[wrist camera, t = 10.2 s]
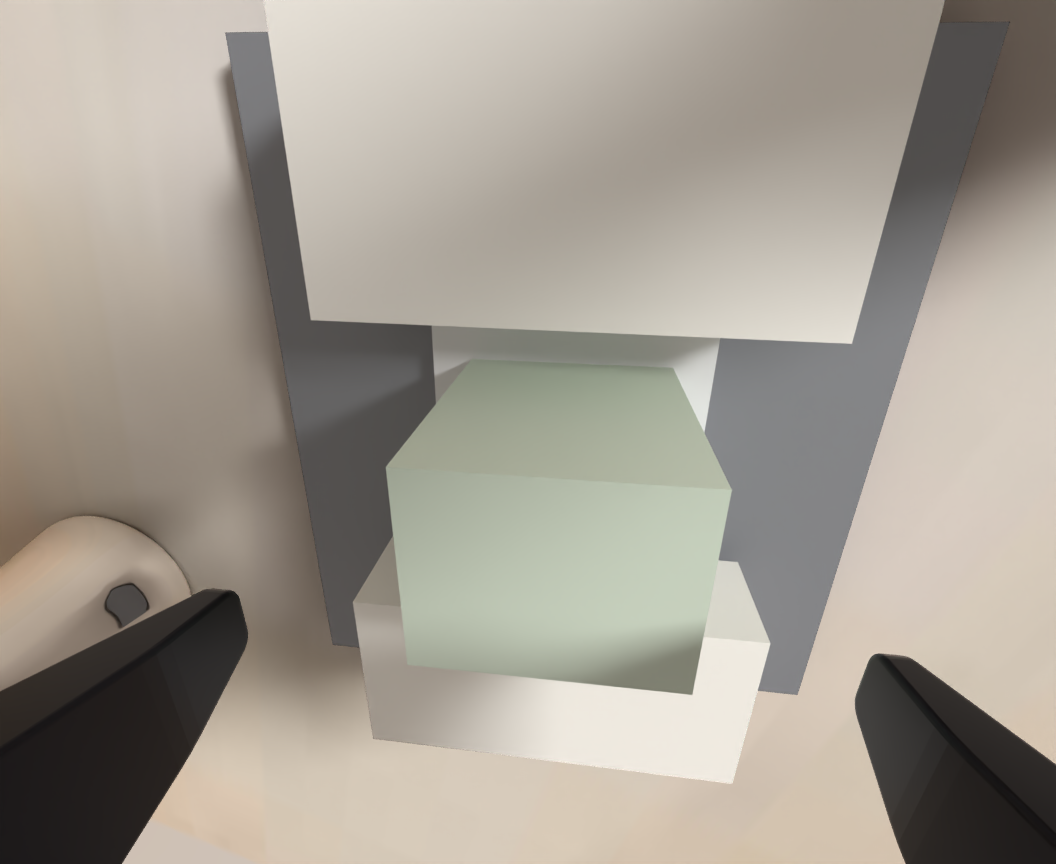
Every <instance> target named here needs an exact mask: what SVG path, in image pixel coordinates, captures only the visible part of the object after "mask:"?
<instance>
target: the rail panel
mask: <svg viewBox="0 0 1056 864" xmlns="http://www.w3.org/2000/svg"><path fill="white" fill-rule="evenodd" d="M263 2H264V9H265V15H266V22H267V29H268V32H230V33H225V34H226V40H227V45H228V51H229V57H230V62H231V68H232V74H233V79H234V85H235V91H236V97H237V102H238V108H239V114H240V119H241V125H242V131H243V136H244V142H245V148H246V153H247V159H248V165H249V171H250V176H251V182H252V188H253V193H254V199H255V205H256V210H257V216H258V222H259V227H260V233H261V239H262V245H263V250H264V256H265V262H266V267H267V273H268V279H269V284H270V290H271V296H272V301H273V307H274V313H275V318H276V324H277V330H278V336H279V341H280V347H281V353H282V358H283V364H284V370H285V375H286V381H287V387H288V392H289V398H290V404H291V410H292V415H293V421H294V427H295V432H296V438H297V444H298V449H299V455H300V461H301V466H302V472H303V478H304V483H305V489H306V495H307V501H308V506H309V512H310V518H311V523H312V529H313V535H314V540H315V546H316V552H317V557H318V563H319V569H320V575H321V580H322V586H323V592H324V597H325V603H326V609H327V614H328V620H329V626H330V631H331V637H332V643H333V645H340V646H349V647H359V648H360V654H361V661H362V667H363V674H364V681H365V687H366V694H367V701H368V708H369V714H370V721H371V728H372V734H373V739H380V740H388V741H396V742H404V743H412V744H419V745H427V746H435V747H443V748H451V749H459V750H467V751H475V752H483V753H491V754H499V755H507V756H515V757H523V758H531V759H539V760H547V761H555V762H563V763H571V764H579V765H587V766H594V767H602V768H610V769H618V770H626V771H634V772H642V773H650V774H658V775H666V776H674V777H682V778H690V779H698V780H706V781H714V782H722V783H730V784H732V783H733V780H734V776H735V772H736V769H737V765H738V761H739V758H740V754H741V750H742V747H743V743H744V739H745V735H746V732H747V728H748V724H749V721H750V717H751V713H752V710H753V706H754V702H755V699H756V695H757V691H766V692H775V693H784V694H794V695H797V694H798V691H799V688H800V685H801V682H802V679H803V675H804V672H805V669H806V666H807V663H808V660H809V656H810V653H811V650H812V647H813V644H814V641H815V637H816V634H817V631H818V628H819V625H820V622H821V618H822V615H823V612H824V609H825V606H826V603H827V599H828V596H829V593H830V590H831V587H832V584H833V580H834V577H835V574H836V571H837V568H838V565H839V561H840V558H841V555H842V552H843V549H844V546H845V542H846V539H847V536H848V533H849V530H850V527H851V523H852V520H853V517H854V514H855V511H856V508H857V504H858V501H859V498H860V495H861V492H862V489H863V485H864V482H865V479H866V476H867V473H868V470H869V466H870V463H871V460H872V457H873V454H874V451H875V447H876V444H877V441H878V438H879V435H880V432H881V428H882V425H883V422H884V419H885V416H886V413H887V409H888V406H889V403H890V400H891V397H892V394H893V390H894V387H895V384H896V381H897V378H898V375H899V371H900V368H901V365H902V362H903V359H904V356H905V352H906V349H907V346H908V343H909V340H910V337H911V333H912V330H913V327H914V324H915V321H916V318H917V314H918V311H919V308H920V305H921V302H922V299H923V295H924V292H925V289H926V286H927V283H928V280H929V276H930V273H931V270H932V267H933V264H934V261H935V257H936V254H937V251H938V248H939V245H940V242H941V238H942V235H943V232H944V229H945V226H946V223H947V219H948V216H949V213H950V210H951V207H952V204H953V200H954V197H955V194H956V191H957V188H958V185H959V181H960V178H961V175H962V172H963V169H964V166H965V162H966V159H967V156H968V153H969V150H970V147H971V143H972V140H973V137H974V134H975V131H976V128H977V124H978V121H979V118H980V115H981V112H982V109H983V105H984V102H985V99H986V96H987V93H988V90H989V86H990V83H991V80H992V77H993V74H994V71H995V67H996V64H997V61H998V58H999V55H1000V52H1001V48H1002V45H1003V42H1004V39H1005V36H1006V33H1007V29H1008V26H1009V23H1010V22H952V23H939V21H940V18H941V14H942V10H943V7H944V3H945V0H263ZM471 359H485V360H508V361H531V362H554V363H576V364H599V365H622V366H645V367H668V368H673V369H674V371H675V373H676V375H677V377H678V379H679V381H680V383H681V386H682V388H683V390H684V392H685V394H686V396H687V398H688V400H689V402H690V404H691V406H692V408H693V410H694V412H695V415H696V417H697V419H698V421H699V423H700V425H701V427H702V429H703V431H704V433H705V435H706V437H707V439H708V441H709V444H710V446H711V448H712V450H713V452H714V454H715V456H716V458H717V460H718V462H719V464H720V466H721V468H722V471H723V473H724V475H725V477H726V479H727V481H728V483H729V485H730V487H731V489H732V492H731V498H730V503H729V508H728V513H727V518H726V523H725V529H724V534H723V539H722V544H721V549H720V554H719V560H718V565H717V570H716V575H715V580H714V585H713V591H712V596H711V601H710V606H709V611H708V616H707V622H706V627H705V632H704V637H703V642H702V648H701V653H700V658H699V663H698V668H697V673H696V679H695V684H694V689H693V694H692V695H688V694H678V693H669V692H660V691H650V690H641V689H631V688H622V687H612V686H603V685H593V684H584V683H574V682H565V681H556V680H546V679H537V678H527V677H518V676H508V675H499V674H489V673H480V672H470V671H461V670H452V669H442V668H433V667H423V666H414V665H407V657H406V647H405V638H404V629H403V620H402V611H401V602H400V593H399V584H398V574H397V565H396V556H395V547H394V538H393V529H392V520H391V511H390V501H389V492H388V483H387V474H386V466H387V465H388V464H389V462H390V461H391V460H392V459H393V457H394V456H395V455H396V454H397V452H398V451H399V450H400V449H401V447H402V446H403V445H404V444H405V442H406V441H407V440H408V439H409V437H410V436H411V435H412V433H413V432H414V431H415V430H416V428H417V427H418V426H419V425H420V423H421V422H422V421H423V420H424V418H425V417H426V416H427V415H428V413H429V412H430V411H431V410H432V408H433V407H434V406H435V405H436V403H437V402H438V401H439V400H440V398H441V397H442V396H443V395H444V393H445V392H446V391H447V390H448V388H449V387H450V386H451V384H452V383H453V382H454V381H455V379H456V378H457V377H458V376H459V374H460V373H461V372H462V371H463V369H464V368H465V367H466V366H467V364H468V363H469V362H470V361H471Z"/></svg>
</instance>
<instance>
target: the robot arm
mask: <svg viewBox="0 0 1056 864" xmlns="http://www.w3.org/2000/svg"><path fill="white" fill-rule="evenodd" d="M247 640H248V630H247V626H246V622H245V618H244V614H243V610H242V606H241V603H240V599H239V596H238V595H237V594H236V593H235V592H234V591H231V590H222V589H206V590H203V591H201V592H199V593H197V594H195V595H193V596H191V597H189V598H187V599H185V600H183V601H181V602H179V603H177V604H175V605H173V606H171V607H168V608H166V609H164V610H162V611H160V612H158V613H156V614H154V615H152V616H150V617H148V618H146V619H144V620H142V621H140V622H138V623H136V624H134V625H132V626H130V627H128V628H126V629H124V630H122V631H120V632H118V633H116V634H114V635H112V636H110V637H108V638H106V639H104V640H102V641H100V642H98V643H96V644H94V645H92V646H90V647H88V648H86V649H84V650H82V651H80V652H78V653H76V654H74V655H72V656H70V657H68V658H66V659H64V660H62V661H60V662H58V663H56V664H54V665H52V666H50V667H48V668H46V669H44V670H42V671H40V672H38V673H36V674H34V675H32V676H30V677H28V678H26V679H24V680H22V681H20V682H18V683H16V684H13V685H11V686H9V687H7V688H5V689H3V690H1V691H0V864H122V863H123V861H124V859H125V858H126V856H127V855H128V853H129V852H130V850H131V848H132V847H133V845H134V844H135V842H136V841H137V839H138V837H139V836H140V834H141V833H142V831H143V829H144V828H145V826H146V824H147V823H148V821H149V820H150V818H151V817H152V815H153V813H154V812H155V810H156V809H157V807H158V805H159V804H160V802H161V801H162V799H163V797H164V796H165V794H166V793H167V791H168V789H169V788H170V786H171V785H172V783H173V782H174V780H175V778H176V777H177V775H178V774H179V772H180V770H181V769H182V767H183V765H184V764H185V762H186V760H187V759H188V757H189V755H190V754H191V752H192V750H193V748H194V747H195V745H196V743H197V741H198V739H199V737H200V736H201V734H202V732H203V730H204V728H205V726H206V724H207V722H208V720H209V718H210V716H211V714H212V712H213V710H214V708H215V706H216V705H217V703H218V701H219V699H220V697H221V695H222V693H223V691H224V689H225V687H226V685H227V683H228V681H229V679H230V677H231V675H232V673H233V671H234V669H235V667H236V666H237V664H238V662H239V660H240V658H241V656H242V654H243V652H244V650H245V647H246V644H247ZM855 710H856V715H857V719H858V722H859V725H860V728H861V731H862V735H863V738H864V741H865V744H866V747H867V750H868V754H869V757H870V760H871V763H872V766H873V769H874V773H875V776H876V779H877V782H878V785H879V788H880V792H881V795H882V798H883V801H884V804H885V807H886V810H887V814H888V817H889V820H890V823H891V826H892V829H893V832H894V835H895V837H896V840H897V843H898V846H899V848H900V851H901V853H902V856H903V858H904V861H905V863H906V864H1056V764H1055V763H1053V762H1052V761H1051V760H1049V759H1048V758H1047V757H1045V756H1044V755H1042V754H1041V753H1040V752H1038V751H1037V750H1036V749H1034V748H1033V747H1032V746H1030V745H1029V744H1027V743H1026V742H1025V741H1023V740H1022V739H1021V738H1019V737H1018V736H1017V735H1015V734H1014V733H1013V732H1011V731H1010V730H1008V729H1007V728H1006V727H1004V726H1003V725H1002V724H1000V723H999V722H998V721H996V720H995V719H994V718H992V717H991V716H989V715H988V714H987V713H985V712H984V711H983V710H981V709H980V708H979V707H977V706H976V705H974V704H973V703H972V702H970V701H969V700H968V699H966V698H965V697H964V696H962V695H961V694H960V693H958V692H957V691H955V690H954V689H953V688H951V687H950V686H949V685H947V684H946V683H945V682H943V681H942V680H940V679H939V678H938V677H936V676H935V675H934V674H932V673H931V672H930V671H928V670H927V669H926V668H924V667H923V666H921V665H920V664H919V663H917V662H916V661H914V660H913V659H911V658H909V657H906V656H900V655H890V654H875V655H873V656H872V657H871V658H870V660H869V662H868V664H867V667H866V670H865V672H864V675H863V678H862V680H861V683H860V685H859V688H858V691H857V693H856V697H855Z"/></svg>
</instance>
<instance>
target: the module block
mask: <svg viewBox="0 0 1056 864" xmlns="http://www.w3.org/2000/svg"><path fill="white" fill-rule="evenodd" d="M386 474H387V483H388V492H389V501H390V511H391V520H392V529H393V538H394V547H395V556H396V565H397V574H398V584H399V593H400V602H401V611H402V620H403V629H404V638H405V647H406V657H407V665H414V666H423V667H433V668H442V669H452V670H461V671H470V672H480V673H489V674H499V675H508V676H518V677H527V678H537V679H546V680H556V681H565V682H574V683H584V684H593V685H603V686H612V687H622V688H631V689H641V690H650V691H660V692H669V693H678V694H688V695H692V694H693V689H694V684H695V679H696V673H697V668H698V663H699V658H700V653H701V648H702V642H703V637H704V632H705V627H706V622H707V616H708V611H709V606H710V601H711V596H712V591H713V585H714V580H715V575H716V570H717V565H718V560H719V554H720V549H721V544H722V539H723V534H724V529H725V523H726V518H727V513H728V508H729V503H730V498H731V492H732V489H731V487H730V485H729V483H728V481H727V479H726V477H725V475H724V473H723V471H722V468H721V466H720V464H719V462H718V460H717V458H716V456H715V454H714V452H713V450H712V448H711V446H710V444H709V441H708V439H707V437H706V435H705V433H704V431H703V429H702V427H701V425H700V423H699V421H698V419H697V417H696V415H695V412H694V410H693V408H692V406H691V404H690V402H689V400H688V398H687V396H686V394H685V392H684V390H683V388H682V386H681V383H680V381H679V379H678V377H677V375H676V373H675V371H674V369H673V368H668V367H645V366H622V365H599V364H576V363H554V362H531V361H508V360H485V359H471V361H470V362H469V363H468V364H467V366H466V367H465V368H464V369H463V371H462V372H461V373H460V374H459V376H458V377H457V378H456V379H455V381H454V382H453V383H452V384H451V386H450V387H449V388H448V390H447V391H446V392H445V393H444V395H443V396H442V397H441V398H440V400H439V401H438V402H437V403H436V405H435V406H434V407H433V408H432V410H431V411H430V412H429V413H428V415H427V416H426V417H425V418H424V420H423V421H422V422H421V423H420V425H419V426H418V427H417V428H416V430H415V431H414V432H413V433H412V435H411V436H410V437H409V439H408V440H407V441H406V442H405V444H404V445H403V446H402V447H401V449H400V450H399V451H398V452H397V454H396V455H395V456H394V457H393V459H392V460H391V461H390V462H389V464H388V465H387V466H386Z"/></svg>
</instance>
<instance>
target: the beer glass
mask: <svg viewBox="0 0 1056 864" xmlns="http://www.w3.org/2000/svg"><path fill="white" fill-rule="evenodd" d="M189 597H191V592H190V589H189V586H188V583H187V581H186V578H185V576H184V575H183V573H182V571H181V570H180V568H179V567H178V565H177V564H176V562H175V561H174V560H173V559H172V558H171V556H170V555H169V554H168V553H167V552H166V551H165V550H164V549H163V548H162V547H160V546H159V545H158V544H157V543H156V542H154V541H153V540H152V539H150V538H149V537H148V536H146V535H144V534H143V533H141V532H140V531H138V530H136V529H134V528H132V527H130V526H128V525H126V524H123V523H121V522H118V521H115V520H111V519H107V518H103V517H97V516H75V517H70V518H67V519H64V520H61V521H59V522H56V523H55V524H53V525H51V526H50V527H48V528H47V529H45V530H44V531H43V532H42V533H40V534H39V535H38V536H37V537H35V538H34V539H33V540H32V541H31V542H30V543H28V544H27V545H26V546H25V547H24V548H23V549H21V550H20V551H19V552H18V553H17V554H16V555H14V556H13V557H12V558H11V559H10V560H9V561H7V562H6V563H5V564H4V565H3V566H1V567H0V691H1V690H3V689H5V688H7V687H9V686H11V685H13V684H16V683H18V682H20V681H22V680H24V679H26V678H28V677H30V676H32V675H34V674H36V673H38V672H40V671H42V670H44V669H46V668H48V667H50V666H52V665H54V664H56V663H58V662H60V661H62V660H64V659H66V658H68V657H70V656H72V655H74V654H76V653H78V652H80V651H82V650H84V649H86V648H88V647H90V646H92V645H94V644H96V643H98V642H100V641H102V640H104V639H106V638H108V637H110V636H112V635H114V634H116V633H118V632H120V631H122V630H124V629H126V628H128V627H130V626H132V625H134V624H136V623H138V622H140V621H142V620H144V619H146V618H148V617H150V616H152V615H154V614H156V613H158V612H160V611H162V610H164V609H166V608H168V607H171V606H173V605H175V604H177V603H179V602H181V601H183V600H185V599H187V598H189Z"/></svg>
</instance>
